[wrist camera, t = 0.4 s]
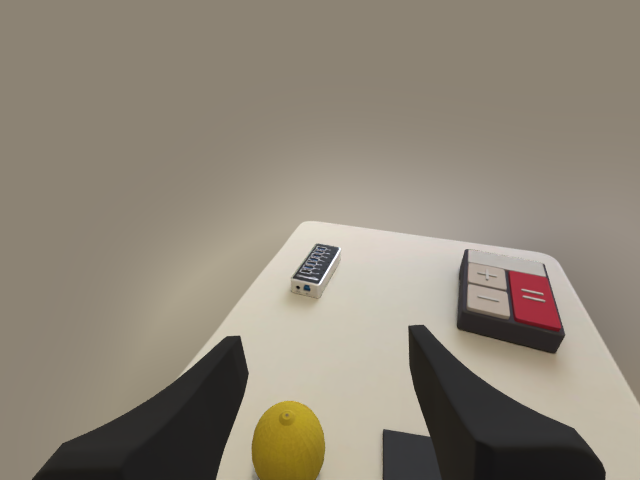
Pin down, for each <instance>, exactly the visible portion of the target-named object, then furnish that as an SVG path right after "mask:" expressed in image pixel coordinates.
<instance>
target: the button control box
mask: <svg viewBox="0 0 640 480" xmlns="http://www.w3.org/2000/svg"><path fill="white" fill-rule="evenodd" d="M457 326H458V328H459V329H462V330H466V331H470V332H474V333H477V334H481V335H485V336H489V337H493V338H497V339H501V340H505V341H509V342H513V343H517V344H521V345H525V346H528V347H532V348H536V349H540V350H544V351H548V352H552V353H555V352H556V351H557V349H558V348H559V346H560V344H561V342H562V340H563V338H564V336H565V333H564V329H563V326H562V322H561V319H560V315H559V312H558V309H557V305H556V302H555V298H554V295H553V292H552V288H551V285H550V281H549V278H548V275H547V271H546V268H545V265H544V264H543V263H541V262H537V261H532V260H527V259H521V258H516V257H510V256H505V255H499V254H494V253H489V252H483V251H478V250H472V249H466V250H465V251H464V255H463V259H462V263H461V266H460V290H459V306H458V323H457Z"/></svg>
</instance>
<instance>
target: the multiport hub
mask: <svg viewBox="0 0 640 480" xmlns="http://www.w3.org/2000/svg"><path fill="white" fill-rule="evenodd" d="M340 258H341V248H339V247H334V246H329V245H324V244H315V246H314V247H313V248H312V250H311V251H310V253H309V254H308V255H307V257H306V258H305V259H304V261H303V262H302V264H301V265H300V266H299V268H298V269H297V270H296V272H295V273H294V275H293V276H292V277H291V291H292V292H293V293H297V294H301V295H306V296H310V297H314V298H320V297H321V295H322V293H323V291H324V289H325V287H326V286H327V284H328V282H329V280H330V278H331V277H332V275H333V273H334V271H335V269H336V267H337V266H338V264H339V262H340Z"/></svg>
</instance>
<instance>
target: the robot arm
mask: <svg viewBox="0 0 640 480" xmlns="http://www.w3.org/2000/svg"><path fill="white" fill-rule="evenodd" d="M408 329H409V364H410V371H411V375H412V380H413V385H414V389H415V392H416V395H417V398H418V401H419V404H420V407H421V410H422V413H423V416H424V419H425V422H426V425H427V428H428V431H429V434H430V437H431V440H432V443H433V446H434V450H435V453H436V457H437V462H438V466H439V470H440V474H441V478H442V480H605V474H606V472H605V469H604V467H603V464H602V462H601V461H600V460H599V458H598V457H597V456H596V454H595V453H594V452H593V450H592V449H591V448H590V447H589V445H588V444H587V443H586V442H585V440H584V439H583V438H582V437H581V436H580V435H579V434H578V433H577V431H576V430H575V429H574V428H572V427H570V426H567V425H565V424H563V423H560V422H558V421H556V420H553V419H551V418H549V417H546V416H544V415H542V414H540V413H538V412H536V411H534V410H532V409H530V408H528V407H526V406H524V405H522V404H521V403H519V402H517V401H515V400H513V399H512V398H510V397H508V396H507V395H505V394H503V393H502V392H500V391H498V390H497V389H495V388H494V387H492V386H491V385H489V384H488V383H486V382H485V381H484V380H482V379H481V378H480V377H478V376H477V375H475V374H474V373H473V372H472V371H470V370H469V369H468V368H467V367H466V366H464V365H463V364H462V363H461V362H460V361H459V360H458V359H457V358H455V357H454V356H453V355H452V354H451V353H450V352H449V351H448V350H447V349H446V348H445V347H444V346H443V345H442V344H441V343H440V342H439V341H438V340H437V339H436V338H435V336H434V335H433V334H432V333H431V332H430V331H429V330H428V329H427V328H426V327H425V326H424V325H412V326H408ZM248 375H249V373H248V368H247V364H246V359H245V355H244V351H243V346H242V342H241V337H240V336H227V337H225V338H224V339H223V340H222V341H221V342H219V343H218V344H217V345H216V346H215V347H214V348H213V349H212V350H211V351H210V352H208V353H207V354H206V355H205V356H204V357H203V358H202V359H201V360H200V361H198V362H197V363H196V364H195V365H194V366H193V367H192V368H190V369H189V370H188V371H187V372H185V373H184V374H183V375H182V376H181V377H179V378H178V379H177V380H176V381H174V382H173V383H172V384H171V385H169V386H168V387H166V388H165V389H164V390H162V391H161V392H159V393H158V394H156V395H155V396H154V397H152V398H151V399H149V400H147V401H146V402H144V403H142V404H141V405H139V406H137V407H136V408H134V409H133V410H131V411H129V412H128V413H126V414H124V415H122V416H120V417H118V418H117V419H115V420H113V421H111V422H109V423H107V424H105V425H103V426H101V427H99V428H97V429H95V430H93V431H90V432H88V433H86V434H84V435H81V436H79V437H77V438H74V439H72V440H70V441H68V442H65V443H63V444H62V445H61V446H60V447H59V448H58V449H57V451H56V452H55V453H54V454H53V455H52V456H51V458H50V459H49V460H48V461H47V462H46V463H45V465H44V466H43V467H42V468H41V469H40V470H39V472H38V473H37V474H36V475H35V476H34V478H33V479H32V480H216V477H217V473H218V469H219V465H220V461H221V458H222V455H223V452H224V448H225V445H226V443H227V440H228V437H229V435H230V432H231V429H232V427H233V424H234V421H235V419H236V416H237V413H238V411H239V408H240V405H241V402H242V399H243V397H244V393H245V389H246V384H247V380H248Z"/></svg>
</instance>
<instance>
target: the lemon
mask: <svg viewBox="0 0 640 480" xmlns="http://www.w3.org/2000/svg"><path fill="white" fill-rule="evenodd" d="M324 454H325V441H324V433H323V430H322V427H321V425H320V422H319V420H318V418H317V417H316V415H315V414H314V413H313V411H312V410H311V409H309V408H308V407H307V406H305V405H303V404H301V403H299V402H295V401H284V402H280V403H278V404H276V405H274V406H272V407H271V408H269V409H268V410H267V411H266V412H265V413H264V414H263V416H262V417H261V418H260V420H259V422H258V424H257V426H256V428H255V431H254V436H253V441H252V461H253V465H254V468H255V471H256V474H257V476H258V477H259V479H260V480H315V479H316V478H317V476H318V475H319V472H320V470H321V467H322V464H323V461H324Z"/></svg>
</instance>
